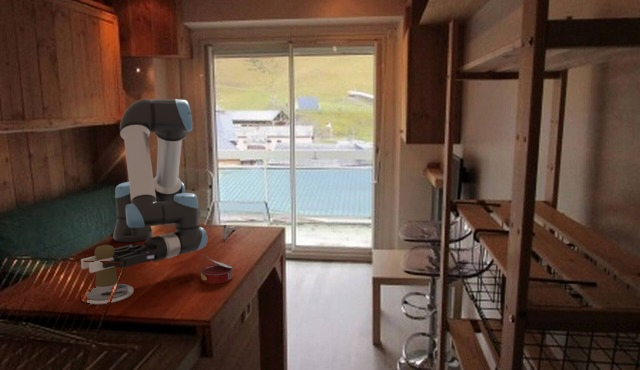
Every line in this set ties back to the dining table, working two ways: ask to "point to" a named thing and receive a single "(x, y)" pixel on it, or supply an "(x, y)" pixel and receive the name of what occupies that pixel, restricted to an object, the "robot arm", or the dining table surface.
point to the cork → (106, 275)
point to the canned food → (216, 273)
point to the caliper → (227, 231)
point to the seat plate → (103, 294)
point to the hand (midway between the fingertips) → (86, 265)
